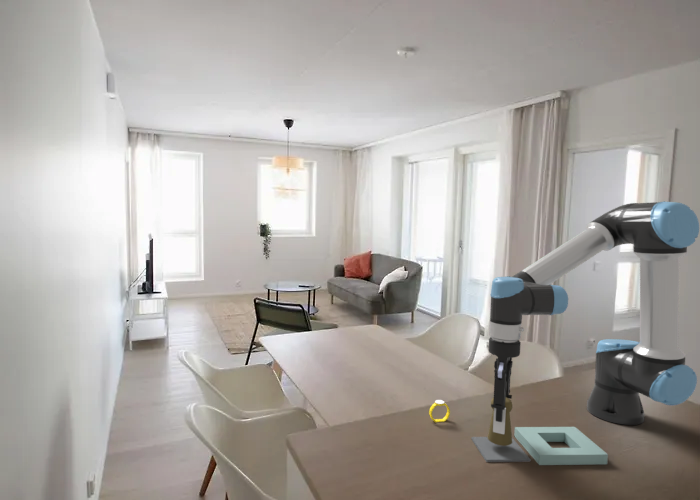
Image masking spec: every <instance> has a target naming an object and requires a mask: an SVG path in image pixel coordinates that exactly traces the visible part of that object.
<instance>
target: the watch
mask: <svg viewBox="0 0 700 500" xmlns="http://www.w3.org/2000/svg"><path fill="white" fill-rule="evenodd" d="M437 406H439V407H443V406H445V407H446V414H445V416H444V417H443V418H436V419H435V418H434V416H433V411H434V409H435V408H436V407H437ZM429 407H430V408H429V411H428V414H429V416H430V419H431V421H433V422H434V423H445V422H446V421H447V420H448V419H449V418H450V414H451V409H450V407H449V405H448V404H447V403H446V402H445V401H444V400H442V399H436V400H435V401H434V403H432V405H431V406H429Z"/></svg>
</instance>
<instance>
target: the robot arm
mask: <svg viewBox="0 0 700 500" xmlns="http://www.w3.org/2000/svg"><path fill="white" fill-rule="evenodd" d="M699 234H700V222H699V218H698V217H697V214H696V212H695V211H694V210H693V209H691V208H690V207H689V206H688V205H687V204H685V203H682V202H676V201H660V202H659V201H658V202H655V201H654V202H631V203H626V204H622V205H619V206H617V207H615V208H613V209H611V210H609V211H607V212H605V213H603V214H602V215H600V216H598V217H596V218H595V219H594V220H592V221H590V222H589V223H587V224H586V226H585V229H584V230H583V231H581V232H579V233H578V234H577V235H575V236H574V237H572V238H570V239H569V240H567V241H566V242H564V243H562V244H561V245H559V246H558V247H556V248H555V249H553V250H551V251H550V252H548V253H547V254H545V255H544V256H543V257H541V258H540V259H538V260H536V261H534V262H532V264H530V265H528V266H527V267H525V268H524V269H522V270H521V271H519V272H517V273H515V274H514V275H513V276H497V277H495V278H493V279H492V283H491V289H490V311H489V312H490V313H489V315H490V317H489V329H488V335H489V338H488V352H489V353H490V354H491V355H493V356H495V357H497V358H496V359H495V360H494V363H493V364H494V365H493V368H494V370H493V373H494V375H493V376H494V379H493V380H494V384H493V397H494V400H493V404H491V403H490V407H491V408H492V407H493V408H494V419H493V432H496V433H500V434H505V416H506V408H505V400H506V397H507V398H509V399H510V400H512V399H513V395H512V394H510V393H511V376H512V367H513V358H517V357H519V356H520V354H521V341H520V339H521V335H522V333H521V332H524V331H525V329H524V327H523V326H522V324H523V323H522V322H523V321H522V320H523V316H547V315H548V316H553V315H560V314H561V315H562V314H563V313H565V311H566V310H567V309H568V306H569V295H568V293H567V291H566V289H565V288H564V287H563V286H561V285H559V284H558V285H554V284H553V283H554V282H556V281H558V280H560V279H561V278H562V277H564V276H565V275H567V274H568V273H570V272H571V271H573V270H575V269H576V268H578V267H579V266H580V265H582V264H584V263H586V262H587V261H588V260H590V259H591V258H594V257H595V256H597V255H598V254H599V253H601V252H603V251H605V252H606V251H607V252H608V251H610V250H612V249H613V248H616V247H617V246H622V245H627V244H628V245H629V244H630V245H633V249H632V250H633V254H634V255H636V256H637V257H638V258H639V268H640V269H639V341H637V340H636V341H635V340H629V339H621V338H620V339H618V338H617V339H616V338H607V339H606V338H605V339H602V340H601V339H600V340H599V341H598V343H597V345H596V351H595V370H594V371H595V373H594V385H593V388H592V390H591V392H590V395H589V396H588V397H589V398H587V401H586V409H587V412H589V413H590V415H592V416H595V417H596V418H598V419H600V420H604V421H606V422H610V423H613V424H618V425H626V426H627V425H628V426H635V425H636V426H638V425H642V424H644V422H645V410H644V407H643V404H642V400H641V398H640V394H641V395H643V396H645V397H647V398H650V399H651V400H652V401H654V402H658V403H661V404H664V405H666V406H677V405H681V404H683V403H685V402H686V401H687V400H688V399H689V398H690V397H691V396H692V395H693V393H694V392H695V391H696V387H697V383H698V382H697V381H698V378H697V377H698V376H697V374H696V371H694V369H693V368H692V367H690V366H689V365H687V364H686V353H685V352H684V351H683V350H682V349H681V348H679V329H680V328H679V325H680V324H679V323H680V322H679V318H680V316H679V315H680V309H679V308H680V259H681V258H682V257H684V256H685V255H686V254H687V252H688V247H690V246H692V245H693V244H694V243H695V242H696V239H697V238H698V237H699ZM521 326H522V327H521Z"/></svg>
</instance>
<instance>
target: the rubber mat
mask: <svg viewBox="0 0 700 500" xmlns="http://www.w3.org/2000/svg"><path fill="white" fill-rule="evenodd" d="M471 441H472V443H473V444H474V446H475V447H476V448H477V450H478V452H479V453H480V455H481V456H482V458H483V459H484V461H485V462H486V463H522V462H523V463H524V462H525V463H528V462H529V463H530V462H531V460H532V459H531V458H530V457H529V455H528V454H527V453H526V452H525V451H524V449H522V447H520V445H519V444H518V443H517V440H515V439H514V438H513V437H512V444H510V445H507V446H502V445H497V444H494V443H492V442H490V441H489V440H488V436H471Z"/></svg>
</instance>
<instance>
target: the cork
mask: <svg viewBox="0 0 700 500" xmlns="http://www.w3.org/2000/svg"><path fill="white" fill-rule="evenodd" d="M493 400H494V396H493V397H492V398H491V400H490V405H491V404H493ZM505 408H506V416H505V434H500V433H496V432H493V419H494V408H493V407H491V409H492V412H491V417H490V422H489V427H488V433H487V437H488V440H489V441H490V442H492V443H494V444H497V445H502V446H507V445H510V444H512V438H513V436H512V435H513V433H512V424H511V412H512V411H513V402H512V399H509V398H507V397H506V400H505Z"/></svg>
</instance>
